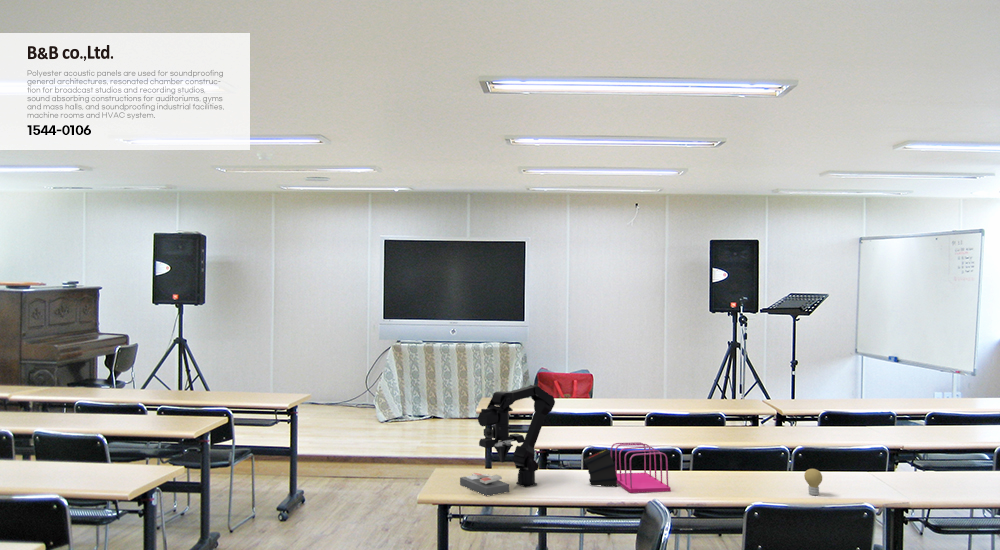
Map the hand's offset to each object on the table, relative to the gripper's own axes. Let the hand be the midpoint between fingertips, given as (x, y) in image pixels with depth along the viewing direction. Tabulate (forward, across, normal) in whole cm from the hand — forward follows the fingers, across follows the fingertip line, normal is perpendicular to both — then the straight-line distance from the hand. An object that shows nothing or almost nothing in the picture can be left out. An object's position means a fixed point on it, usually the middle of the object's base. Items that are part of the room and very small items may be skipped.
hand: (502, 462), depth 251 cm
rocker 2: (+6, +5, -2) cm, 8 cm away
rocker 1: (+6, +5, -8) cm, 11 cm away
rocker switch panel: (+11, +5, -6) cm, 14 cm away
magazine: (+12, -38, +16) cm, 43 cm away
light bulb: (+13, -100, +72) cm, 124 cm away
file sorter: (+13, -53, +23) cm, 59 cm away
